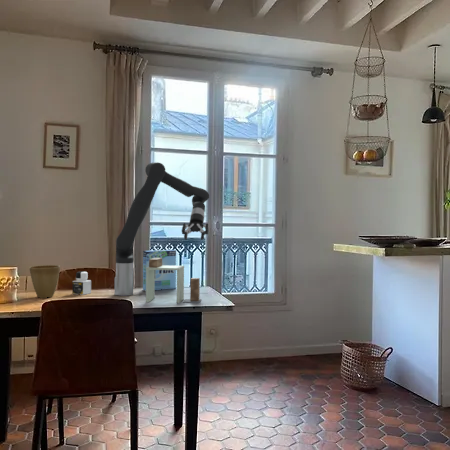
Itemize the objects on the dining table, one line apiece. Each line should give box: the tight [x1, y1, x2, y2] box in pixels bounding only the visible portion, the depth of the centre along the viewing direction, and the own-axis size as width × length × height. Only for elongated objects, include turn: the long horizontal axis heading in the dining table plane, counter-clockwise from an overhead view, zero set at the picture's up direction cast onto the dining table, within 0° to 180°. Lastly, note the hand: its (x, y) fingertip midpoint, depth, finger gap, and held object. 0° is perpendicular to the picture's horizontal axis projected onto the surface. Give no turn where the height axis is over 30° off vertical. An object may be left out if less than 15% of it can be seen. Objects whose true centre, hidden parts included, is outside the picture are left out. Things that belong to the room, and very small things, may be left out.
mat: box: [182, 298, 202, 304], centre depth 228 cm, size 8×8×1 cm
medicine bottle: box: [71, 271, 92, 296], centre depth 251 cm, size 7×7×12 cm
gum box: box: [142, 249, 177, 292], centre depth 269 cm, size 20×5×23 cm, turn 123°
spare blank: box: [149, 258, 162, 268], centre depth 231 cm, size 4×11×4 cm, turn 174°
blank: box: [189, 277, 201, 301], centre depth 228 cm, size 4×4×11 cm
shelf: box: [145, 265, 185, 304], centre depth 231 cm, size 17×13×17 cm
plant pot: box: [29, 264, 61, 299], centre depth 238 cm, size 15×15×16 cm
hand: (193, 238), depth 243 cm, fingers open, 8 cm apart
